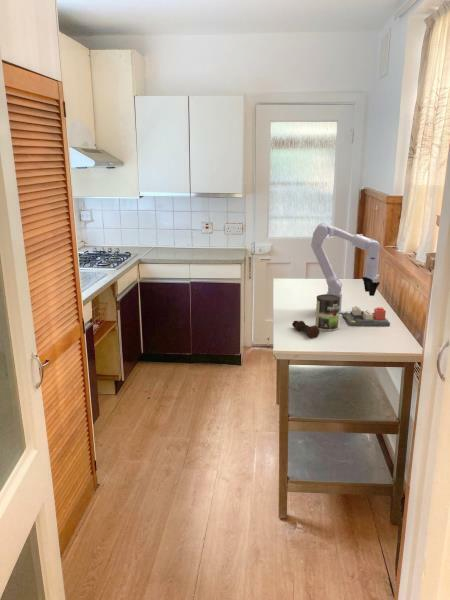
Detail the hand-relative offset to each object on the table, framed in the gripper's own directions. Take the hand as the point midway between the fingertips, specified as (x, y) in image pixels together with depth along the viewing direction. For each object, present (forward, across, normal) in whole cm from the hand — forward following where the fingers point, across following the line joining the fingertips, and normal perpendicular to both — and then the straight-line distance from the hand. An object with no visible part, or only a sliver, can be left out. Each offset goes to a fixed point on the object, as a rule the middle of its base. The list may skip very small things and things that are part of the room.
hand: (369, 293), depth 233 cm
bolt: (+11, -27, +35) cm, 45 cm away
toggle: (+9, -7, +7) cm, 13 cm away
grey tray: (+10, -10, +4) cm, 15 cm away
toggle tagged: (+9, -13, +4) cm, 16 cm away
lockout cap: (+9, -14, -1) cm, 16 cm away
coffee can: (+11, -20, +24) cm, 33 cm away
